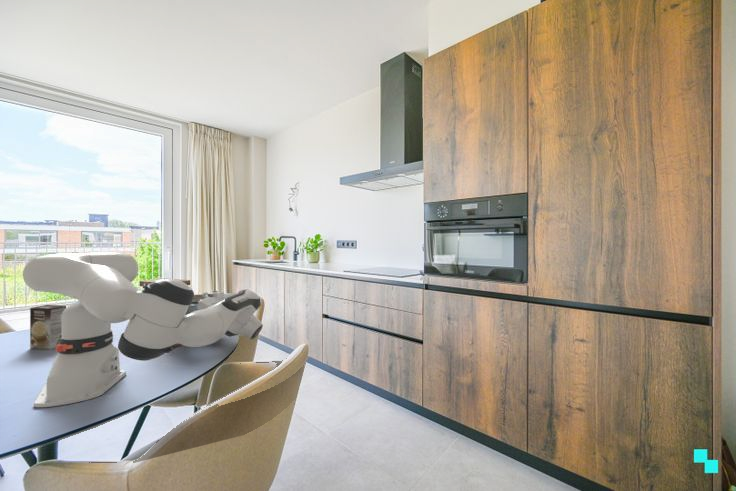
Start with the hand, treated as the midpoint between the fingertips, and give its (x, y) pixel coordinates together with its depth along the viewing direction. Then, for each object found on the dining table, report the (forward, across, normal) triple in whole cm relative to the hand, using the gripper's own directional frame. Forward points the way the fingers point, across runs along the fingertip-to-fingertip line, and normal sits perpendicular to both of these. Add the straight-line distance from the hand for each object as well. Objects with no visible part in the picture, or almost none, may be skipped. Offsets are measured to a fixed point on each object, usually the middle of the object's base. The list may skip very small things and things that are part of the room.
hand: (209, 292), depth 135 cm
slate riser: (-3, 0, -21) cm, 21 cm away
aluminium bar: (+3, 0, -6) cm, 7 cm away
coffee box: (+34, -30, -43) cm, 63 cm away
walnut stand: (0, -11, -23) cm, 26 cm away
